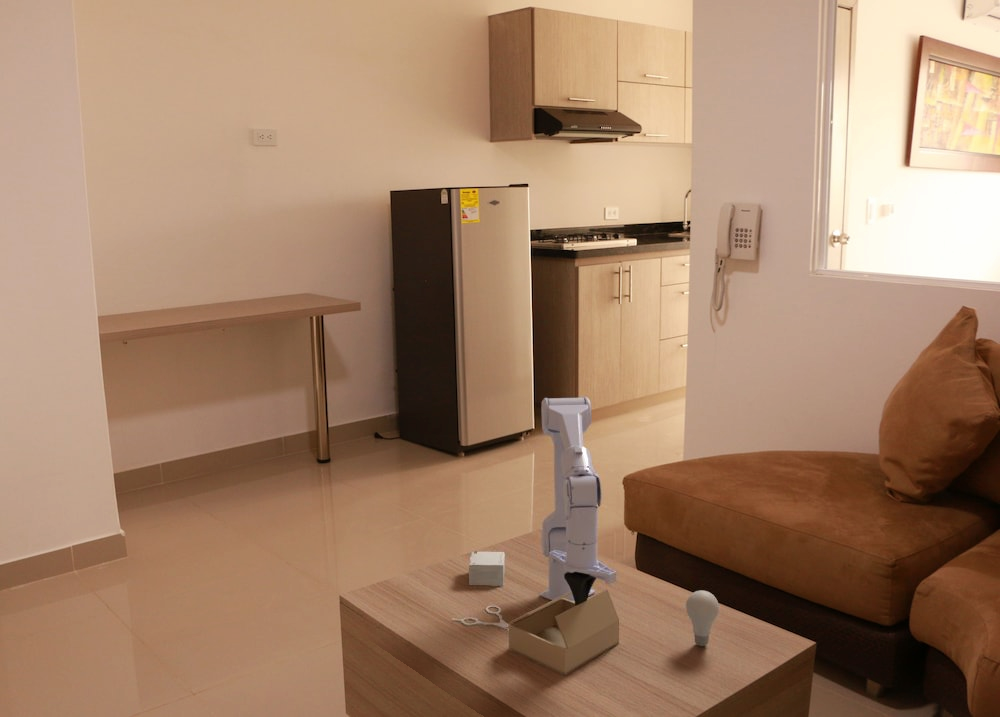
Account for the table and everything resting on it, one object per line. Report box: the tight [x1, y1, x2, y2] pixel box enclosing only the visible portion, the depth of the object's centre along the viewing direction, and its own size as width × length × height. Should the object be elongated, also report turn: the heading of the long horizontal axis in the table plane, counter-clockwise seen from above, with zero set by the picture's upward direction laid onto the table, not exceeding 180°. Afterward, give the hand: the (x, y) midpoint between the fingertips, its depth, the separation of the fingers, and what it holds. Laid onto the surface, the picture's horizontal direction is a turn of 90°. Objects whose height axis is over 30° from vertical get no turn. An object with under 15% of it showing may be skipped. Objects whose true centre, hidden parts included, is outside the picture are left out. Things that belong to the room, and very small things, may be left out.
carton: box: [508, 598, 620, 677], centre depth 171 cm, size 16×14×5 cm
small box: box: [468, 551, 506, 587], centre depth 202 cm, size 8×8×5 cm
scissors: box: [451, 605, 510, 632], centre depth 180 cm, size 11×1×20 cm
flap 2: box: [555, 589, 620, 649], centre depth 166 cm, size 15×6×1 cm
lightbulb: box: [685, 589, 720, 648], centre depth 170 cm, size 6×6×11 cm
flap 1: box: [509, 591, 572, 625], centre depth 174 cm, size 15×6×1 cm
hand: (581, 608), depth 167 cm, fingers closed, pressing on flap 2
